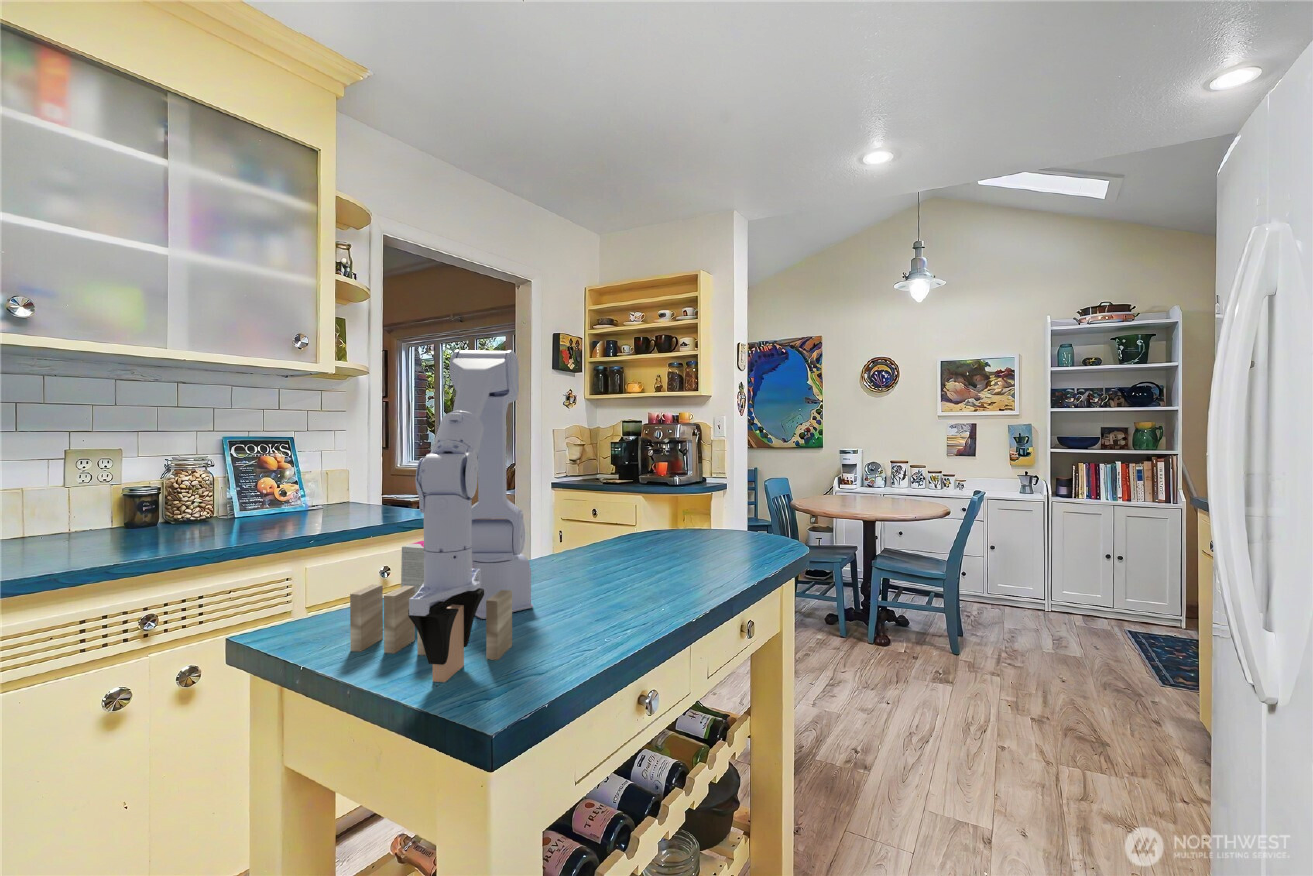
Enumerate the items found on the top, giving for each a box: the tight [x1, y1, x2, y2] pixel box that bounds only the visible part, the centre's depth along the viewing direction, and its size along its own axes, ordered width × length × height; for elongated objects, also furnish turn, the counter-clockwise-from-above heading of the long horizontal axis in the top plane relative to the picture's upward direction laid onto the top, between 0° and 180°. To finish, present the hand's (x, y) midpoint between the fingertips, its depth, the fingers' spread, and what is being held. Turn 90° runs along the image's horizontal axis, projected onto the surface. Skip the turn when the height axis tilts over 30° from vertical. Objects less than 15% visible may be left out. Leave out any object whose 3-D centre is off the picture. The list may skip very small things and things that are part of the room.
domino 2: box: [383, 586, 416, 654], centre depth 83 cm, size 2×5×8 cm, turn 172°
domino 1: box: [349, 584, 384, 653], centre depth 83 cm, size 2×5×8 cm, turn 172°
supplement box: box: [400, 540, 424, 594], centre depth 99 cm, size 6×6×12 cm
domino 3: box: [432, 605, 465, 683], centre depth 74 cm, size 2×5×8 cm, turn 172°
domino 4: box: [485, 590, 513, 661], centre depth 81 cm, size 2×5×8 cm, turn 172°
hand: (448, 654), depth 74 cm, fingers closed on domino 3, 5 cm apart
